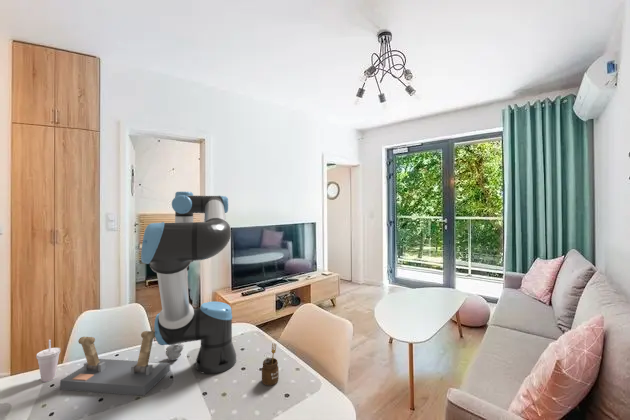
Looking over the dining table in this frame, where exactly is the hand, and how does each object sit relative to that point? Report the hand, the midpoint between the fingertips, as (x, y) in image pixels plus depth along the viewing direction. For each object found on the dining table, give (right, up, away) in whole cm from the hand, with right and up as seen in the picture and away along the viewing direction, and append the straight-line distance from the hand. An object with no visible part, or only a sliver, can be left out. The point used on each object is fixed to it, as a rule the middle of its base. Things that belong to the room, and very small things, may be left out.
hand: (184, 277), depth 129 cm
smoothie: (-36, -30, -27) cm, 54 cm away
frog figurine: (+3, -30, -14) cm, 33 cm away
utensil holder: (+43, -30, -28) cm, 60 cm away
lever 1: (-20, -26, -27) cm, 42 cm away
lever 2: (-2, -26, -29) cm, 39 cm away
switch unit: (-11, -30, -28) cm, 42 cm away
